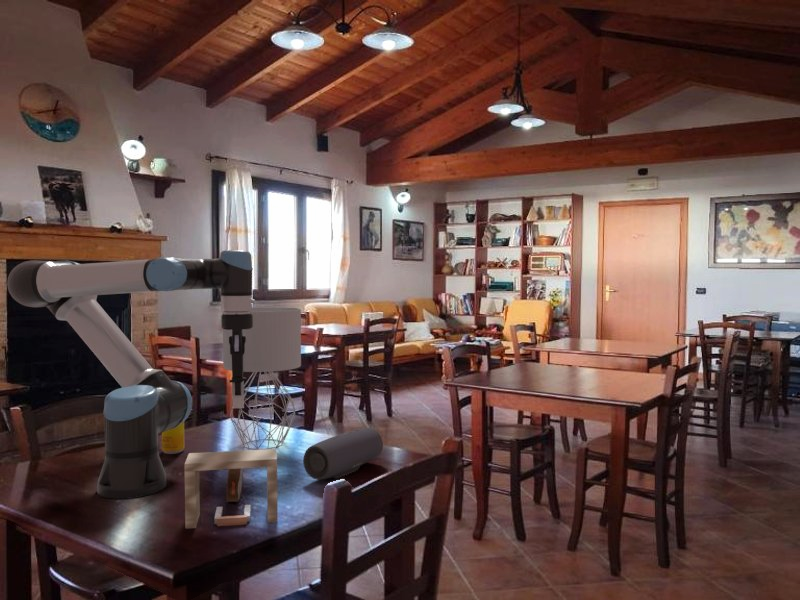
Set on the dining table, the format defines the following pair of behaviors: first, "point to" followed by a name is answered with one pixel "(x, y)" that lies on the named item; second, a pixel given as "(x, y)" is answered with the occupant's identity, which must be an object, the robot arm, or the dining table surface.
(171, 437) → the beer can
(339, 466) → the bluetooth speaker
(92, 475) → the dining table surface
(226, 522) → the grey and orange bracket
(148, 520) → the dining table surface
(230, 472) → the tin
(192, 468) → the overhang
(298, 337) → the table lamp
